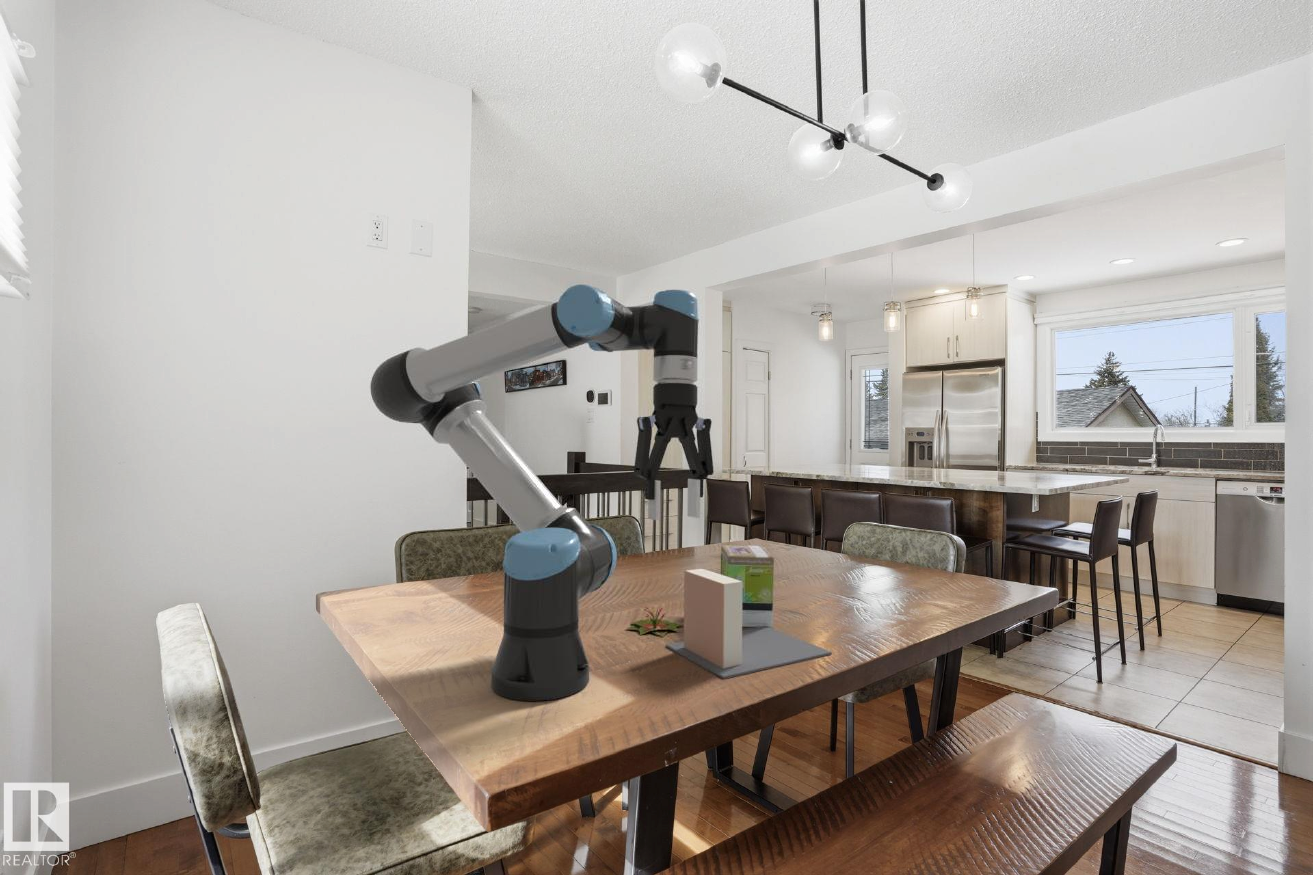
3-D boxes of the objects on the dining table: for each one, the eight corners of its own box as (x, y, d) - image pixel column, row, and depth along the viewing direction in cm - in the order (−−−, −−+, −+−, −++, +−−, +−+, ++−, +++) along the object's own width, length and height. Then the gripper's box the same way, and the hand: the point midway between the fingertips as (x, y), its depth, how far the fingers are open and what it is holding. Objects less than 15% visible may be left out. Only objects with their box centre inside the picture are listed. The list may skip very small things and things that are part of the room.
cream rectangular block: (722, 668, 103) (723, 584, 103) (683, 647, 114) (684, 570, 114) (741, 664, 105) (742, 581, 105) (701, 643, 116) (702, 568, 116)
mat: (723, 678, 100) (723, 676, 100) (665, 646, 115) (665, 644, 115) (831, 654, 112) (831, 651, 112) (766, 627, 127) (766, 625, 127)
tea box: (774, 628, 127) (775, 556, 127) (725, 627, 127) (726, 555, 128) (763, 608, 142) (763, 543, 142) (719, 607, 142) (719, 543, 143)
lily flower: (694, 627, 129) (694, 605, 129) (665, 643, 118) (666, 619, 119) (644, 618, 135) (645, 597, 135) (613, 633, 125) (614, 610, 125)
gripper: (633, 378, 97) (632, 524, 97) (736, 384, 108) (735, 517, 107) (612, 381, 104) (611, 518, 104) (711, 387, 114) (709, 512, 114)
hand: (674, 517), depth 106 cm, fingers open, 7 cm apart
